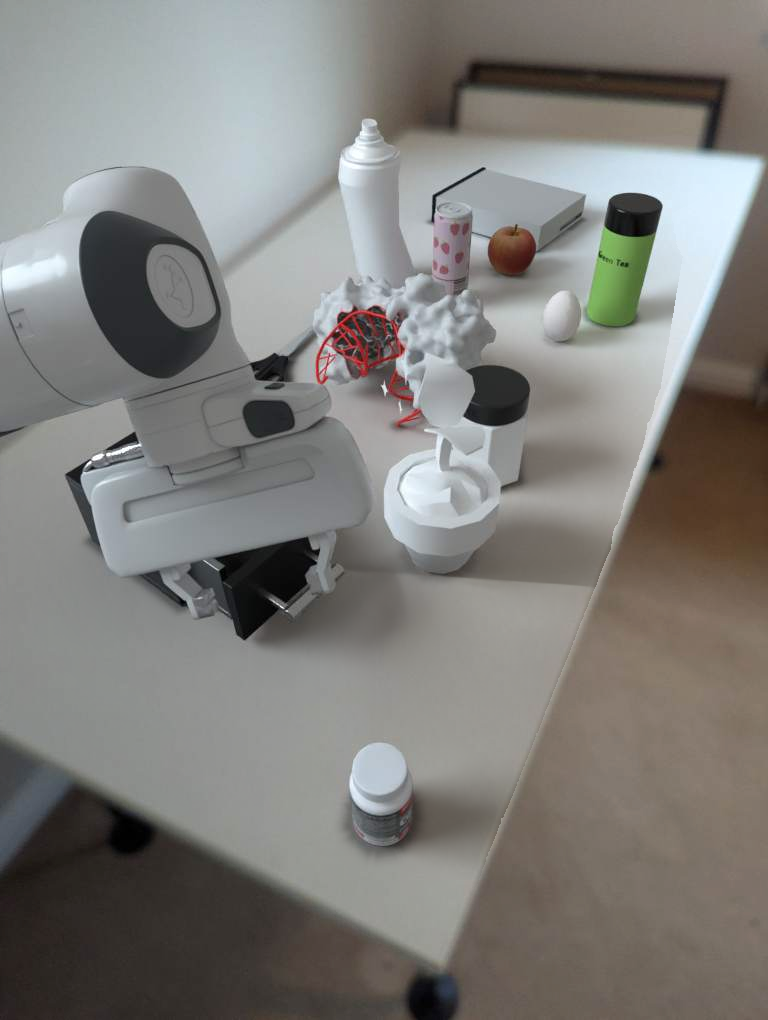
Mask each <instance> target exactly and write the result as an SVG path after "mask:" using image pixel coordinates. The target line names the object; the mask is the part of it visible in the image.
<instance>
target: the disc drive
mask: <svg viewBox="0 0 768 1020" xmlns="http://www.w3.org/2000/svg"><path fill="white" fill-rule="evenodd" d="M431 198H432V199H431V223H434V214H435V212H436V211H435V210H436V208H437V206H438V205H440V204H442V203H445V202H462V203H465V204H467V205H469V206H470V207H471V208H472V214H473V221H472V233H475V234H479V235H481V236H485V237H488V238H491V237H492V236H493V234H494V233H495V232H496V231H497V230H499V229H500V228H503V227H507V226H509V227H515V224H518V226H517V227H518V228H523V229H526V230H528V231H529V232H530V233H531V234H532V236H533V237H534V239H535V242H536V252H538V251H540V250H541V249H543V248H544V247H545V246H546V245H548V244H549V243H551V242H552V241H553V240H555V239H556V238H557V237H559V236H560V235H562V234H563V233H564V232H565V231H567V230H569V229H570V228H571V227H572V226H574V225H575V224H577V223H578V222H579V221H580V220H582V219H583V215H582V214H584V209H585V204H586V198H587V194H586V193H582V192H578V191H574V190H570V189H567V188H562V187H557V186H554V185H550V184H547V183H542V182H538V181H534V180H529V179H526V178H521V177H518V176H515V175H510V174H506V173H501V172H498V171H494V170H490V169H487V168H486V167H485V166H482V167H479V169H477V170H475V171H472V172H471V173H470V174H467V175H465V176H464V177H462V178H461V179H459V180H457V181H455V182H453V183H451V184H449V185H448V186H446V187H445V188H443V189H441V190H439V191H437V192H436V193H434V194H432V197H431Z"/></svg>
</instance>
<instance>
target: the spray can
mask: <svg viewBox="0 0 768 1020" xmlns="http://www.w3.org/2000/svg"><path fill="white" fill-rule="evenodd" d="M354 141H355V142H353V143H352V144H351V145H348V146H346V147H344V148H343V149H342V150H341V151H340V158H339V164H338V174H337V178H338V179H337V180H338V183H339V189H340V192H341V196H342V201H343V206H344V210H345V214H346V220H347V224H348V228H349V234H350V239H351V245H352V249H353V255H354V260H355V265H356V266H355V267H356V270H357V273H358V277H359V278H360V281H361V282H362V281H363V278H364V277H365V276H370V277H371V278H372V279H373V281H374V282H377V281H378V280H380V279H385V280H386V281H387V282H388V283H389V284H390V286H391V287H393V288H396V289H400V288H401V287H403V286H406V285H405V280H406V278H408V277H413V276H417V274H416V270H415V267H414V264H413V261H412V258H411V256H410V252H409V250H408V246H407V244H406V241H405V238H404V235H403V232H402V230H401V226H400V182H399V181H400V171H401V170H400V169H401V164H402V157H401V155H400V154H401V151H400V149H398V148H397V147H396V146H394V145H391V144H388V143H387V141H385V137H384V136H383V135H382V134H381V132H380V130H379V129H378V122H377V121H376V120H375V119H373V118H363V119H362V120H361V130H360V131H359V135H357V136H356V137H355V140H354Z"/></svg>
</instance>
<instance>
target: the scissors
mask: <svg viewBox="0 0 768 1020" xmlns="http://www.w3.org/2000/svg"><path fill="white" fill-rule="evenodd" d="M314 332H315V331H314V329H313V324H312V325H310V326H309V327H307V329H305V330H304V331H303V332H301V333H300V334H299V335H298V336H297V337H296V338H294V340H292V341H291V342H289V344H287V345H286V346H284V347H283V348H282V350H281V351H280V352H279V353H277V352H273V353H271V355H269V356H267V357H265V358H263V359H260V360H255V361H252V362H251V361H250V364H249V365H251V367H252V370H254V369H259V370H258V371H257V372H255V373H253V374H254V377H255V380H259V381H266V380H267V378H268V377H269V376H271V375H272V374H278V375H279V377H278V378H277V379H275V381H274V382H285V380H286V374H285V370H284V369H285V367H286V365H287V364H288V363H289V360H290V359H289V356H290V355H292V354H293V353H294V352H295V351H296V350H297V349H298V348H299V347H300V346H301V345H302V344H303V343H304V342H305V341H306V340H307V339H308V338H309V337H310V336H311V335H312V334H313V333H314ZM246 366H247V365H246Z"/></svg>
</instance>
